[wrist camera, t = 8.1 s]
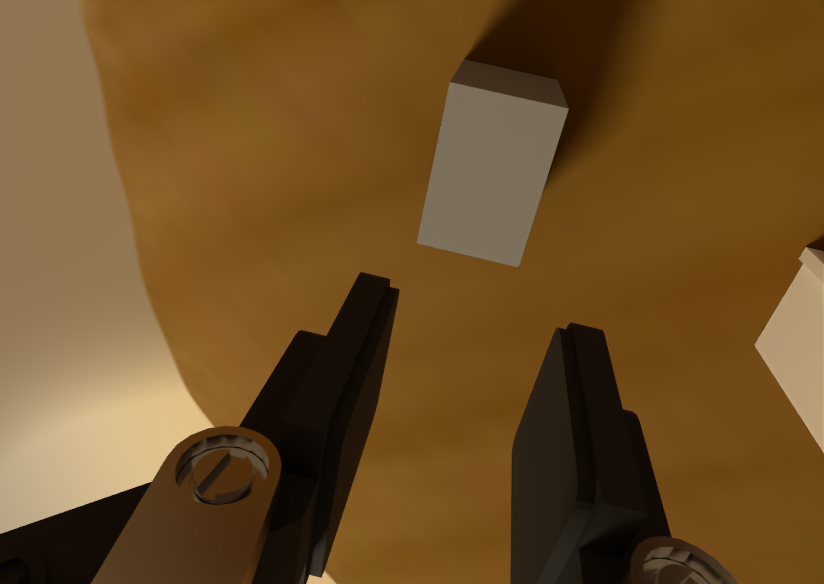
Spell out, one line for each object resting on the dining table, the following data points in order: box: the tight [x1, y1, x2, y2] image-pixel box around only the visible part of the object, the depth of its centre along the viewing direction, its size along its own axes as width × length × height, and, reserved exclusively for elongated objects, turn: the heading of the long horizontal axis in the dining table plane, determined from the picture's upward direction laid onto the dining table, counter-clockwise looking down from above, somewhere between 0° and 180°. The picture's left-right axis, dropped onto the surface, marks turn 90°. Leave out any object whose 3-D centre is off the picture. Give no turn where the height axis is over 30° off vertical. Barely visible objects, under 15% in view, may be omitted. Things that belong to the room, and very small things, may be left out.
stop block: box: [417, 59, 569, 267], centre depth 23 cm, size 4×6×6 cm, turn 170°
